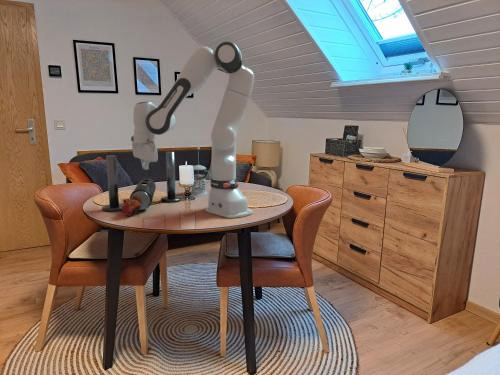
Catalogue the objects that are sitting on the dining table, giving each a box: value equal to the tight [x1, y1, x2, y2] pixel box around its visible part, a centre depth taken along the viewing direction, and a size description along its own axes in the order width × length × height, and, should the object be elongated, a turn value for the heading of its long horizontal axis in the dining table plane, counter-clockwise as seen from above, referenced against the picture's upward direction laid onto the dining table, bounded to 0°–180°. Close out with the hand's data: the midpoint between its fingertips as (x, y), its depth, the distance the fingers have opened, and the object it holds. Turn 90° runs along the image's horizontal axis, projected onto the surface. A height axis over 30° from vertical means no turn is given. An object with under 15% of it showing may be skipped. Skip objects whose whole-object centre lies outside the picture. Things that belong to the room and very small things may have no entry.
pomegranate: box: [122, 198, 141, 217], centre depth 152 cm, size 7×7×10 cm
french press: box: [190, 146, 212, 196], centre depth 193 cm, size 10×12×25 cm
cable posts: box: [102, 151, 183, 213], centre depth 167 cm, size 10×38×24 cm, turn 128°
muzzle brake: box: [129, 177, 157, 211], centre depth 169 cm, size 10×28×10 cm, turn 10°
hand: (145, 169), depth 163 cm, fingers closed
